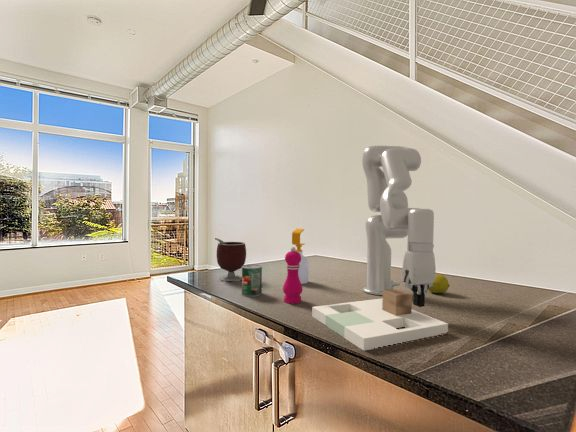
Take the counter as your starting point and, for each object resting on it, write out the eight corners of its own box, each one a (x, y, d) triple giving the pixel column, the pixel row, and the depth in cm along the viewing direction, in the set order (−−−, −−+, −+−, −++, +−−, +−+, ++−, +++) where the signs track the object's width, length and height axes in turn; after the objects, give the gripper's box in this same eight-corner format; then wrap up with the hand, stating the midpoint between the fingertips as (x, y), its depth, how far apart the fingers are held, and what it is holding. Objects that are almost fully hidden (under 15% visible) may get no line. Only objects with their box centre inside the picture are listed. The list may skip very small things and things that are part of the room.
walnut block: (397, 307, 104) (397, 288, 104) (411, 313, 99) (411, 293, 99) (382, 309, 102) (382, 290, 102) (395, 315, 97) (396, 295, 96)
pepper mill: (300, 304, 117) (301, 248, 116) (280, 303, 118) (281, 247, 117) (303, 299, 124) (304, 246, 123) (284, 297, 125) (285, 245, 125)
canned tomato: (265, 293, 132) (265, 265, 131) (253, 297, 125) (254, 268, 125) (249, 290, 136) (250, 263, 135) (237, 294, 129) (237, 266, 129)
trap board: (383, 306, 115) (383, 298, 115) (447, 334, 91) (448, 323, 91) (312, 316, 104) (312, 306, 104) (363, 350, 80) (363, 338, 79)
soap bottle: (311, 281, 153) (312, 228, 152) (301, 285, 145) (302, 230, 145) (295, 279, 158) (295, 228, 157) (284, 282, 150) (285, 229, 149)
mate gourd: (236, 274, 166) (236, 235, 166) (251, 279, 156) (252, 237, 155) (208, 278, 156) (208, 236, 156) (222, 284, 146) (222, 239, 145)
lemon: (453, 294, 133) (453, 274, 133) (443, 297, 129) (444, 277, 128) (428, 288, 142) (428, 270, 142) (418, 291, 137) (418, 272, 137)
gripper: (428, 245, 110) (427, 300, 110) (393, 247, 104) (391, 304, 104) (447, 248, 103) (445, 306, 104) (410, 250, 97) (409, 311, 98)
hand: (418, 305), depth 104 cm, fingers closed
